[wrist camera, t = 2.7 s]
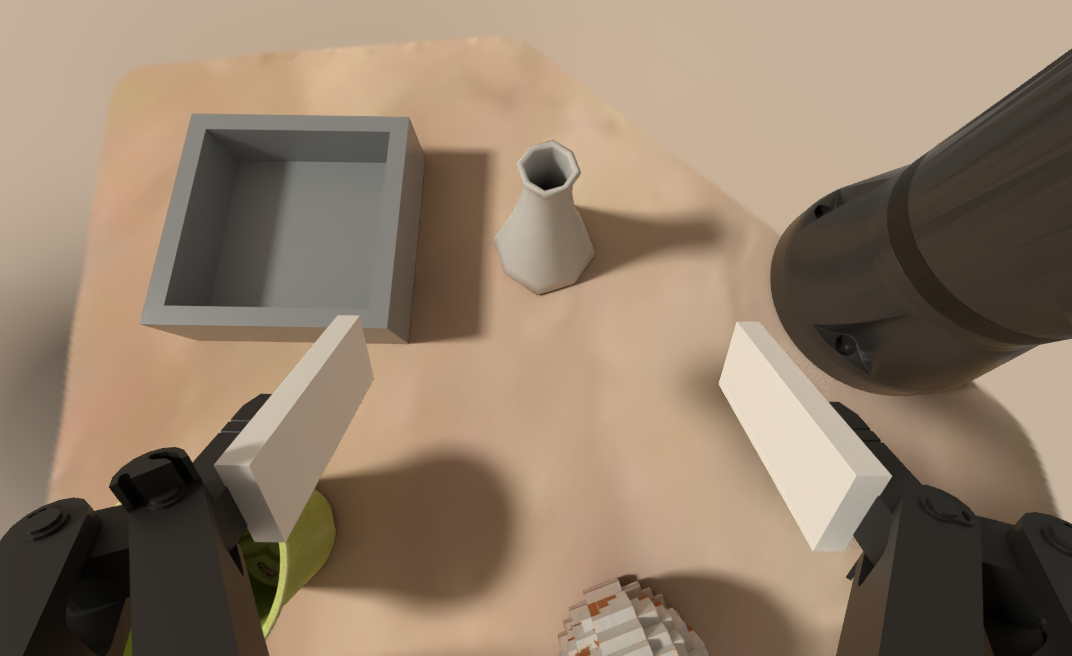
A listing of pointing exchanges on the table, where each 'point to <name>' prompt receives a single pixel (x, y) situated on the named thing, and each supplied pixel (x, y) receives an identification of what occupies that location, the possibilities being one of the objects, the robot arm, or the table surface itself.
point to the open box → (290, 229)
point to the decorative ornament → (627, 625)
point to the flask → (545, 223)
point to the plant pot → (285, 561)
